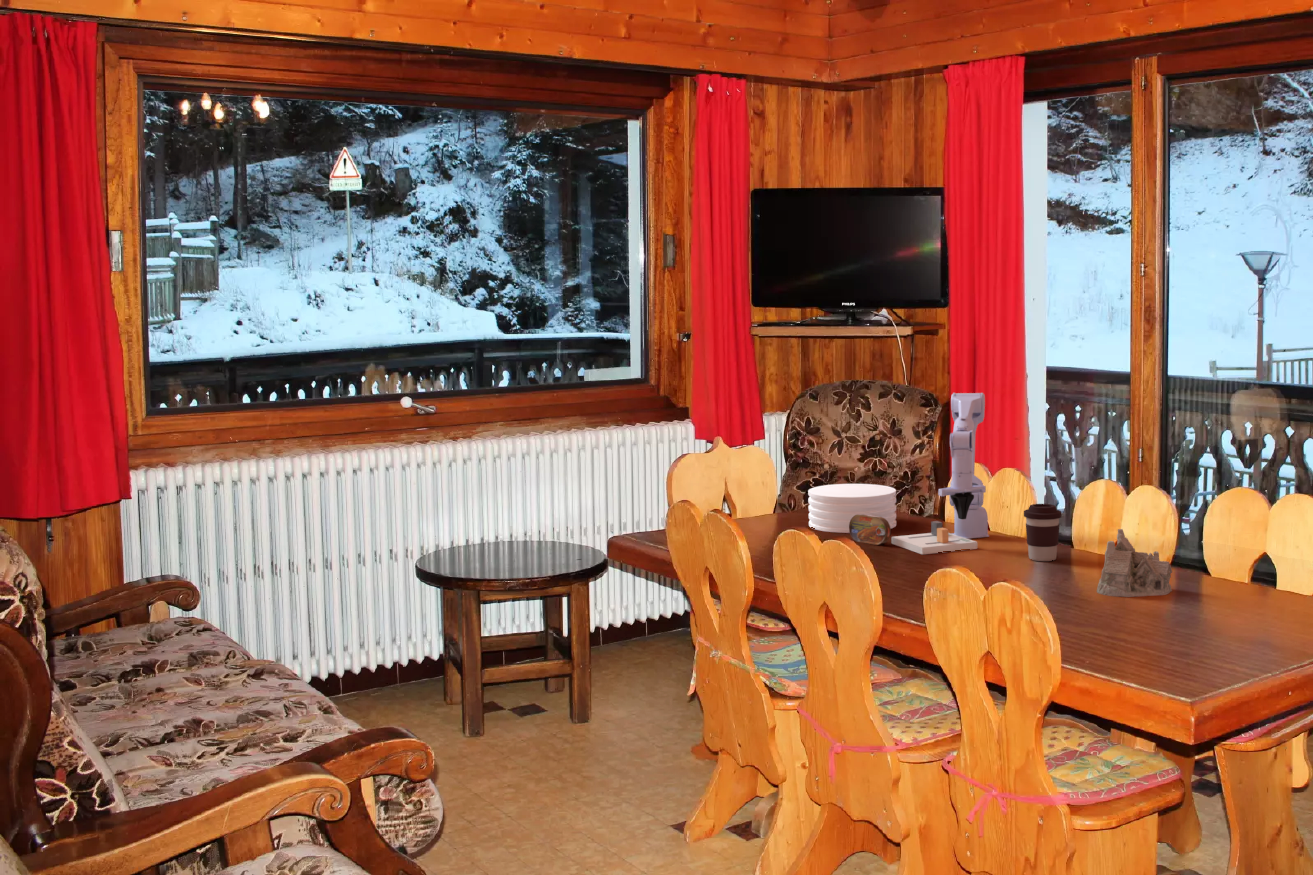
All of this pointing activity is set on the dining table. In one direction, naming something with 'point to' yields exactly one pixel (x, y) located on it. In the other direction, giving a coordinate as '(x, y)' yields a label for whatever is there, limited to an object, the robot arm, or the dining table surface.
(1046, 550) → the coffee cup
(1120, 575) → the ceramic cottage
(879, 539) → the tin
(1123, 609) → the dining table surface
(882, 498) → the plate stack
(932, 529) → the gray rectangular block
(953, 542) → the board
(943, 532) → the switch
